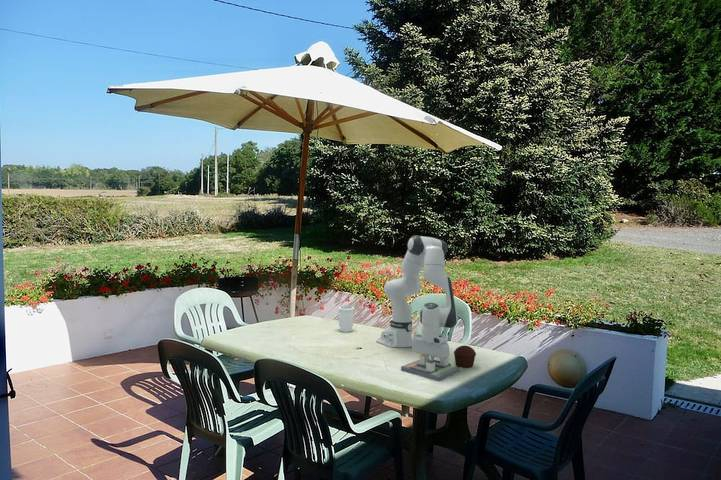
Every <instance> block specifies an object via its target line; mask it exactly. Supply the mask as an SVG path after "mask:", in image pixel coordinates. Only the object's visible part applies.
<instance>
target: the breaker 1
mask: <svg viewBox="0 0 721 480" xmlns="http://www.w3.org/2000/svg"><path fill="white" fill-rule="evenodd" d="M426 371H429V372H432V371H435V362H434V361H432V360H429V361H427V362H426Z"/></svg>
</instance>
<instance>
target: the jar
mask: <svg viewBox="0 0 721 480" xmlns="http://www.w3.org/2000/svg"><path fill="white" fill-rule="evenodd" d="M337 309H338V314H337V315H338V316H337V320H338V326H339V331H340V332H343V333H350V332H352V331H353V326H354V322H355V311H354V310H355V307H354V306H350V305H342V306H339V307H338V308H337Z"/></svg>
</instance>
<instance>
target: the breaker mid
mask: <svg viewBox="0 0 721 480" xmlns="http://www.w3.org/2000/svg"><path fill="white" fill-rule="evenodd" d="M419 360H420V362H419V364H421V365H426V362H427V360H426V358H425V354H420V356H419Z"/></svg>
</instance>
